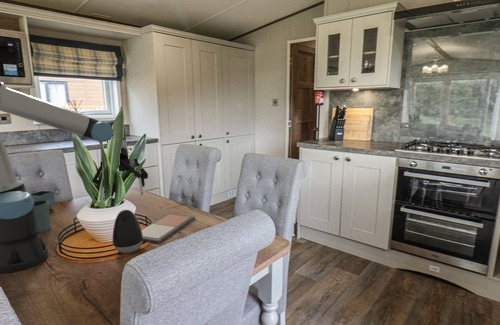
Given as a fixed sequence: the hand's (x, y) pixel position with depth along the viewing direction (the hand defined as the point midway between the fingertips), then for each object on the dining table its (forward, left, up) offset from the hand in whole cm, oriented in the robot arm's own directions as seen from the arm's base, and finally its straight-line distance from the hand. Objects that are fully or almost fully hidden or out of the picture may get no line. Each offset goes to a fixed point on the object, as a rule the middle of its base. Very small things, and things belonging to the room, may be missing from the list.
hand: (123, 196), depth 117 cm
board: (+13, -7, -17) cm, 23 cm away
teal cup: (-5, +45, -18) cm, 48 cm away
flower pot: (+14, +69, -18) cm, 72 cm away
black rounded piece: (-8, -7, -18) cm, 21 cm away
